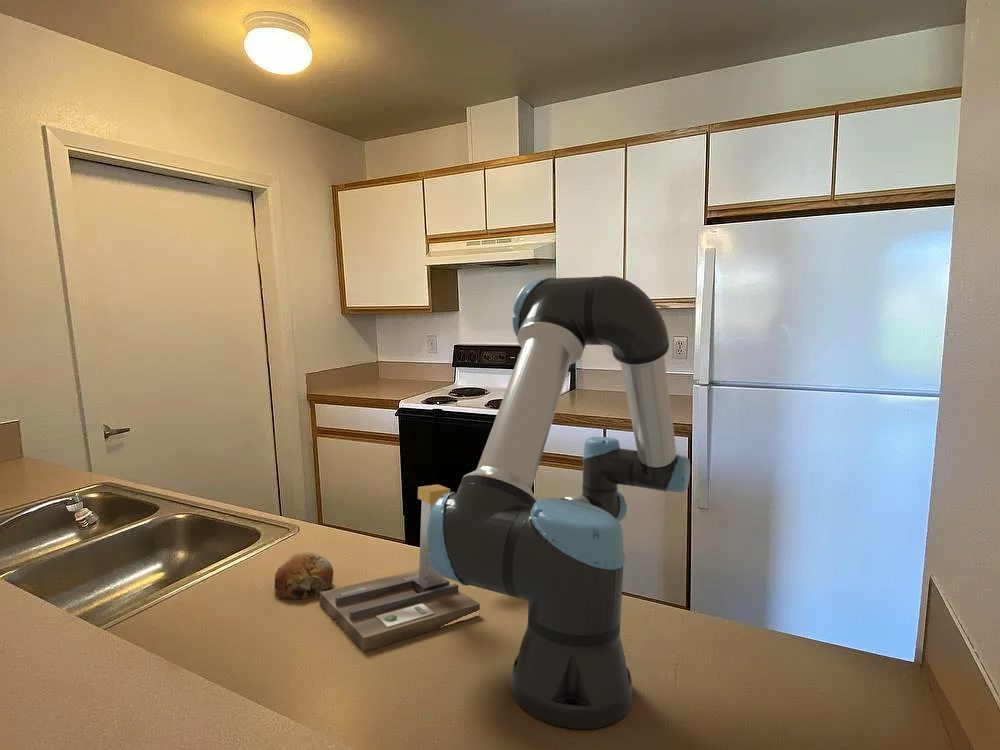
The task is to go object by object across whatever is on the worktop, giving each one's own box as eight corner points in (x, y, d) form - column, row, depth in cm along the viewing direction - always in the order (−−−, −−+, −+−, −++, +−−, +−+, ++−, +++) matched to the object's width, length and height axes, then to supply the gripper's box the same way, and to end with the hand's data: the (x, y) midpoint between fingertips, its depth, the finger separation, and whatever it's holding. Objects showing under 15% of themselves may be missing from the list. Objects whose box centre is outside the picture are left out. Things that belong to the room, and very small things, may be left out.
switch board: (479, 616, 89) (480, 596, 89) (363, 651, 77) (364, 629, 77) (424, 578, 103) (425, 562, 103) (319, 604, 91) (320, 585, 91)
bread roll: (337, 602, 100) (345, 557, 103) (316, 600, 91) (325, 550, 94) (285, 598, 101) (295, 553, 104) (259, 596, 92) (270, 546, 95)
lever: (449, 588, 93) (452, 488, 93) (423, 595, 90) (427, 492, 90) (437, 580, 97) (440, 484, 96) (412, 586, 94) (415, 487, 93)
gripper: (589, 543, 108) (493, 568, 94) (544, 525, 118) (452, 545, 104) (590, 505, 108) (495, 524, 93) (546, 491, 118) (454, 506, 104)
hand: (472, 535), depth 99 cm, fingers closed
